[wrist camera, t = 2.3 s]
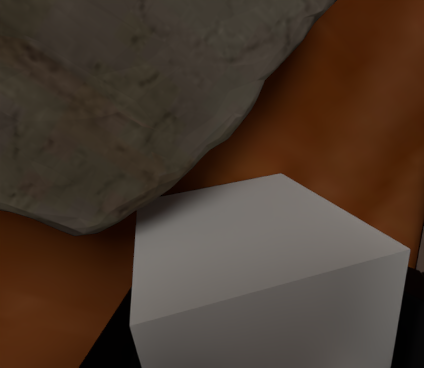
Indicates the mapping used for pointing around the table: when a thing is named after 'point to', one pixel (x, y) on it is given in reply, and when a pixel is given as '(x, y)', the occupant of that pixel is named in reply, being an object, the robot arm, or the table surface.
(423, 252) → the frame
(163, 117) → the marble piece
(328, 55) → the table surface
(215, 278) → the light grey cube
